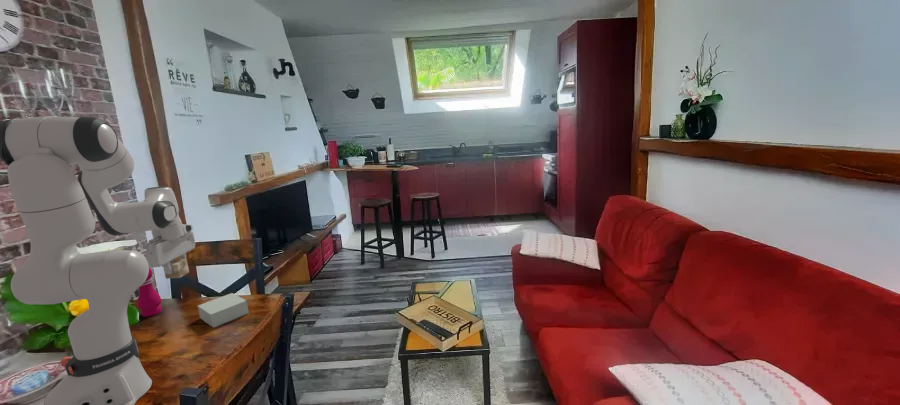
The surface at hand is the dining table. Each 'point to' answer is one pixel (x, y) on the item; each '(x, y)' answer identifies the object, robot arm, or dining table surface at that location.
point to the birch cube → (178, 269)
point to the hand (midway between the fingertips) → (176, 269)
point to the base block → (223, 309)
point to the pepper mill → (148, 298)
